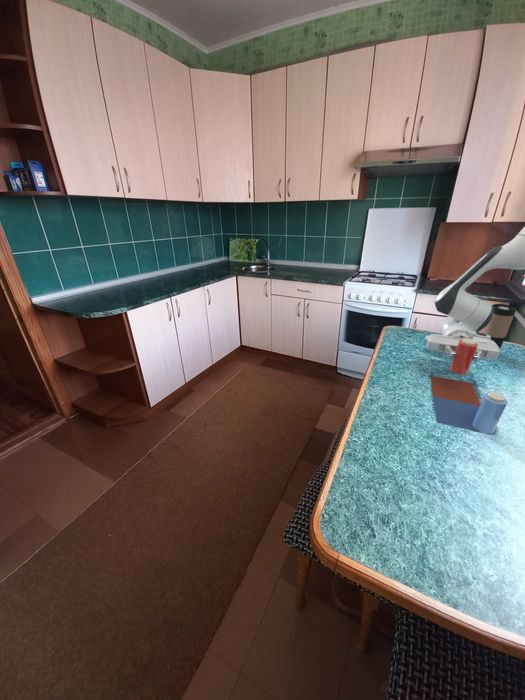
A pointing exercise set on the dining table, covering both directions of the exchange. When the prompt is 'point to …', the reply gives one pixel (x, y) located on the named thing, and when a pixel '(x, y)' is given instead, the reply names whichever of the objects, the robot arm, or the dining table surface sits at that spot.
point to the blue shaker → (489, 412)
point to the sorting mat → (455, 402)
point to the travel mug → (499, 323)
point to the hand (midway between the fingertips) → (464, 357)
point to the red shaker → (463, 356)
